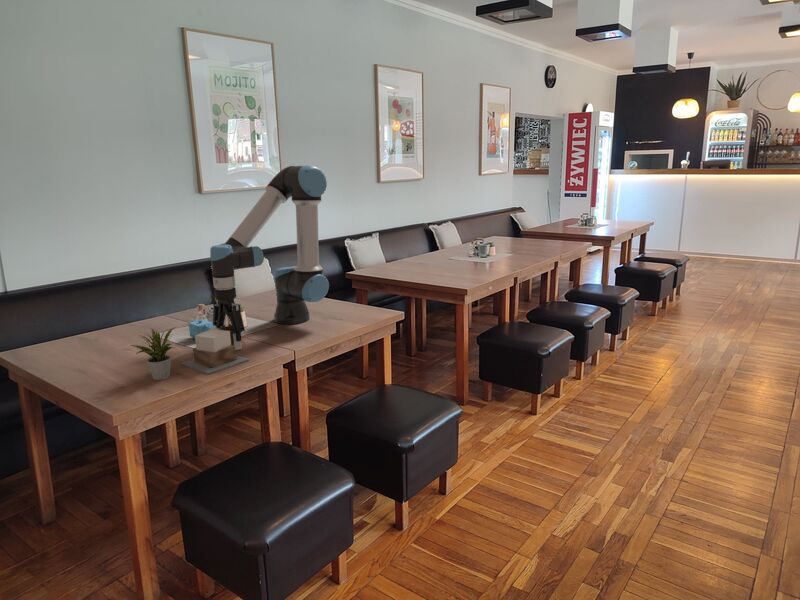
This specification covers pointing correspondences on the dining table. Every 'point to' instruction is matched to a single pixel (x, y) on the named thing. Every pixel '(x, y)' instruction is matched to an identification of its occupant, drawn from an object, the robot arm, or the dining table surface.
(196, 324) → the blue sponge
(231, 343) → the olive green rounded piece
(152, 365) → the house plant
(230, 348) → the block base
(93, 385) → the dining table surface
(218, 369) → the felt mat
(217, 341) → the block top
